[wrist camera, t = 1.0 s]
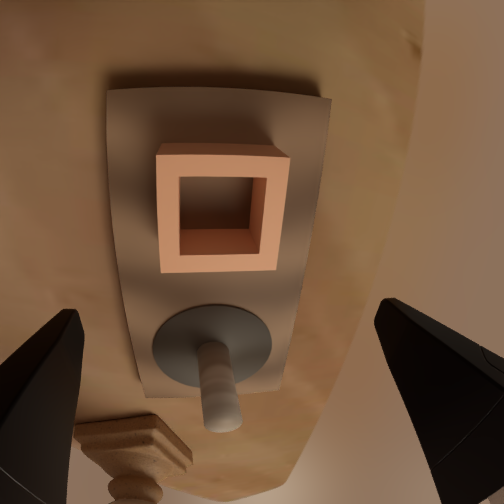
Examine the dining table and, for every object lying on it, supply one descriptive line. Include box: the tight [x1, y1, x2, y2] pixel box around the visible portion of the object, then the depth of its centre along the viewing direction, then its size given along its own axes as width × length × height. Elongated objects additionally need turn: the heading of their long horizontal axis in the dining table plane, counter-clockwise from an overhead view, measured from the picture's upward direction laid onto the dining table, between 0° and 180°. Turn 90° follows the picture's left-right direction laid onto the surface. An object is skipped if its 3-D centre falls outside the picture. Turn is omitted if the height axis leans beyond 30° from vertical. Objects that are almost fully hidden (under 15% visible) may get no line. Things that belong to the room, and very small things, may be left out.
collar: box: [156, 143, 290, 273], centre depth 16 cm, size 6×6×3 cm
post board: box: [106, 87, 332, 432], centre depth 18 cm, size 24×12×8 cm, turn 175°
